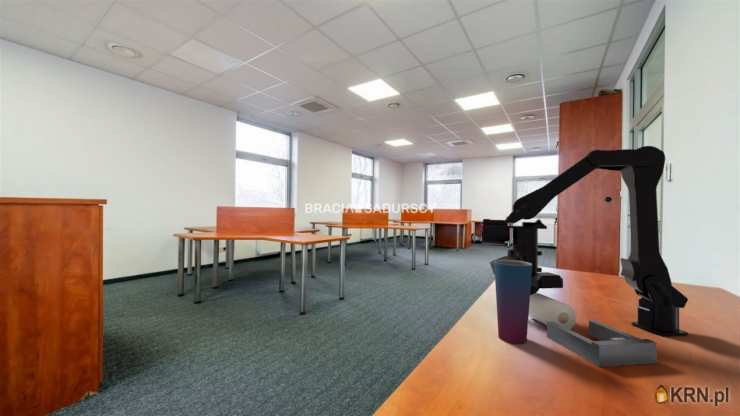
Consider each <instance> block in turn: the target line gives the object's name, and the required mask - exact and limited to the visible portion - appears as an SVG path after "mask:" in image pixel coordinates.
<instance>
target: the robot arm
mask: <svg viewBox="0 0 740 416" xmlns="http://www.w3.org/2000/svg"><path fill="white" fill-rule="evenodd" d="M665 163H666V154H665V152H664V151H663V150H661V149H660V148H659V147H656V146H653V145H645V146H640V147H639V148H635V149H633V148H632V149H631V148H626V149H625V148H623V149H612V150H611V149H610V150H606V149H594V150H592V151H590V152H588V153H587V154H585V155H584V156H583V158H581V159H580V160H578V161H577V162H576V163H575V164H573V165H571V166H570V167H568V168H567V169H566V170H565V171H562V172H561V173H560V174H559V175H558V176H556V177H555V178H553V179H552V180H551V181H549V182H548V183H547V184H544V186H541V187H540V188H537V189H535V190H534V191H531V192H530V193H527V194H526V195H523V196H520V197H519V198H517V199H516V200H515V201H514V202H513V204H512V207H511V212H510V213H509V215H508V216H506V217H505V219H490V218H483V219H482V230H481V244H482V245H496V246H505V245H506V243H508V242H510V240H511V239H512V241H511V242H512V243H511V244H512V248H509V249H508V250H507V255H505V256H501V257H498V258H496V259H493V260H491V261H490V262H489V265H490V268H491V270H492V273H493V275H495V268H494V261H495V260H516V261H523V262H528V263H531V264H532V276H531V289H530V295H532V294H534V293H538V292H539V290H540V289H544V290H545V289H563V288H564V278H562V276H561V275H560V274H556V273H553V272H552V273H551V272H549V271H547V272H546V271H545V272H544V271H543V269H542V267H539V263H538V262H539V257H538V256H543V252H542V250H539V247H538V246H539V240H538V239H539V235H538V234H539V232H538V231H539V229H540V230H547V229H548V226H547V225H545V224H544V223H543V222H542V220H541V219H538V218H537V219H536V220H535V221H532V222H531V221H527V220H532V219H533V218H536V216H538V214H539V213H541V212H542V211H543V210H544V209H545V208H546V206H548V205H549V204H550V202H551V201H552V200H553V199H554V198H556V197H557V196H558V195H561V194H562V192H564V191H565V190H567V189H568V188H570V187H572V186H573V185H574V184H575V183H578V182H579V181H581V180H582V179H583V178H584V177H586V176H588V175H589V174H590V173H592V172H593V171H595V170H604V171H612V172H620V174H621V177H622V180H623V182H624V184H625V186H626V187H627V190H628V199H629V201H628V202H629V204H628V205H629V222H630V246H631V251H630V254H629V255H628V258H623V257H621V258H620V264H621V272H620V276H622V277H623V278H624V281H625V283H626V284H628V286H630V287H631V288H632V289H633V290H634V292H635V295H636V296H639V297H640V298H638V306H637V321H630V324H631V325H632V326H635V327H638V328H640V329H643V330H646V331H649V332H652V333H654V334H657V335H660V336H665V337H668V336H669V337H670V336H688V335H689V332H688V331H686V330H682V329H680V309H684V308H685V307H686V305H687V302H688V300H689V299H688V297H687V296H685V295H684V294H683V293H682V292H680V291H679V289H677V288H676V287H674V286H673V285H672V279H671V277H670V272H669V270H668V266H667V264H666V263H665V261H664V259H663V257H662V256H661V255H662V254H661V252H660V235H659V220H658V219H659V213H658V211H659V210H658V196H657V193H658V192H657V188H658V185H659V183H660V180H661V178H662V176H663V173H664V169H665ZM521 220H525V221H522V222H521V225H508V224H516V223H518V222H519V221H521ZM511 230H512V234H511V233H510V231H511ZM510 235H512V238H511V239H510V237H511V236H510ZM542 271H543V272H542Z"/></svg>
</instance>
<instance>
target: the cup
mask: <svg viewBox="0 0 740 416" xmlns="http://www.w3.org/2000/svg"><path fill="white" fill-rule="evenodd" d="M494 260H495V261H494V268H495V274H494V280H495V282H494V285H495V298H496V299H495V300H496V315H497V316H496V317H497V331H498V333H497V335H498V338H499V339H500V340H501V341H504V342H506V343H509V344H513V345H523V344H526V343H527V342H528V341H527V340H528V331H529V330H528V327H529V317H530V316H529V303H530V289H531V276H532V264H531V263H528V262H523V261H516V260H496V259H494Z"/></svg>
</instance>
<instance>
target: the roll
mask: <svg viewBox="0 0 740 416" xmlns="http://www.w3.org/2000/svg"><path fill="white" fill-rule="evenodd" d="M528 317H529V318H532V319H534V320H535V321H538V322H539V323H542V324H544V325H545V326H547V322H555V323H557V324H559V325H561V326H563V327H565V328H567V329H569V330H572V329H573V327H574V326H575V324H576V320H577V313H576V311H575V309H574V308H573V306H571V305H569V304H567V303H565V302H562V301H560V300H558V299H555V298H552V297H549V296H548V295H544V294H541V293H538V292H537V293H534V294H532V295H530V303H529V316H528Z"/></svg>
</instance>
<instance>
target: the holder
mask: <svg viewBox="0 0 740 416" xmlns="http://www.w3.org/2000/svg"><path fill="white" fill-rule="evenodd" d="M546 330H547V331H546V334H547V335H546V337H547V338H549V340H551V341H554V342H555V343H557V344H558V345H561V346H563V347H564V348H566V349H567V350H569V351H571V352H572V353H574V354H575V355H578V356H579V357H581V358H583V359H584V360H586V361H588V362H590V363H591V364H594V365H596V367H599V368H605V367H620V366H619V365H624V366H638V365H637V364H641V365H654V364H655V365H656V364H658V363H657V362H658V361H657V359H658V358H657V356H658V355H657V353H658V351H657V347H658V346H657V343H658V342H656V341H654V340H652V339H649V338H640V337H637V336H634V335H632V334H629V333H627V332H625V331H623V330H620V329H617V328H615V327H613V326H611V325H607V324H605V323H603V322H600V321H598V320H594V319H591V320H588V336H590V337H592V338H594V339H596V340H594V341H593V340H592V339H590V338H588V337H585V336H583V335H582V334H579V333H577V332H575V331H574V330H572V329H570V330H569V329H567V328H565V327H563V326H561V325H559V324H557V323H555V322H547V325H546ZM635 364H636V365H635Z"/></svg>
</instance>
